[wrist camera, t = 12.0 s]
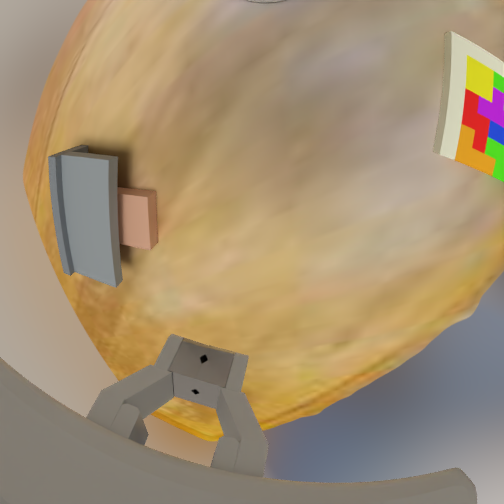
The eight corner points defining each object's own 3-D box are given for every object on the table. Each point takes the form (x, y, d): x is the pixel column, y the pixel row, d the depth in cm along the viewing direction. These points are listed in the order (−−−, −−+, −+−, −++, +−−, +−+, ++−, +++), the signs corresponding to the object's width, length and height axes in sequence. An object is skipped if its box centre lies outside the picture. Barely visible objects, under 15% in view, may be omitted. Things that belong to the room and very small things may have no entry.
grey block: (81, 145, 42) (48, 156, 34) (134, 150, 41) (102, 162, 33) (88, 251, 54) (64, 272, 46) (134, 266, 53) (112, 292, 46)
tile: (96, 184, 46) (85, 190, 43) (157, 190, 45) (147, 197, 42) (101, 230, 51) (92, 237, 48) (159, 241, 50) (150, 250, 47)
